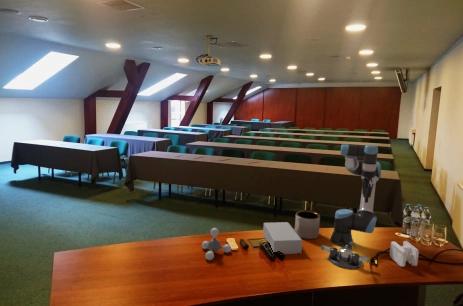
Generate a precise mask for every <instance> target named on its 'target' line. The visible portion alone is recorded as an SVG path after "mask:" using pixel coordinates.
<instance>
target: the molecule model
mask: <svg viewBox="0 0 463 306" xmlns="http://www.w3.org/2000/svg"><path fill="white" fill-rule="evenodd" d="M219 233H220V232H219V229H218V227H212V228H211V229H210V236H212V239H210V240H209V241H208V240H204V241H203V242H202V244H201V247H202V249H203V250H208V251H207V252H206V253H205V258H206V260H208V261H212V260H213V259H214V258H215V255H214V253H216V252H219V250H220V249H222V250H223V253H226V254H228V253H230V252H231V251H232V246H231V245H230V244H228V243H227V244H226V243H225V244H224V245H222V244H221V241H220V240H219V239H218V238H217V237H218V235H219Z"/></svg>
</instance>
